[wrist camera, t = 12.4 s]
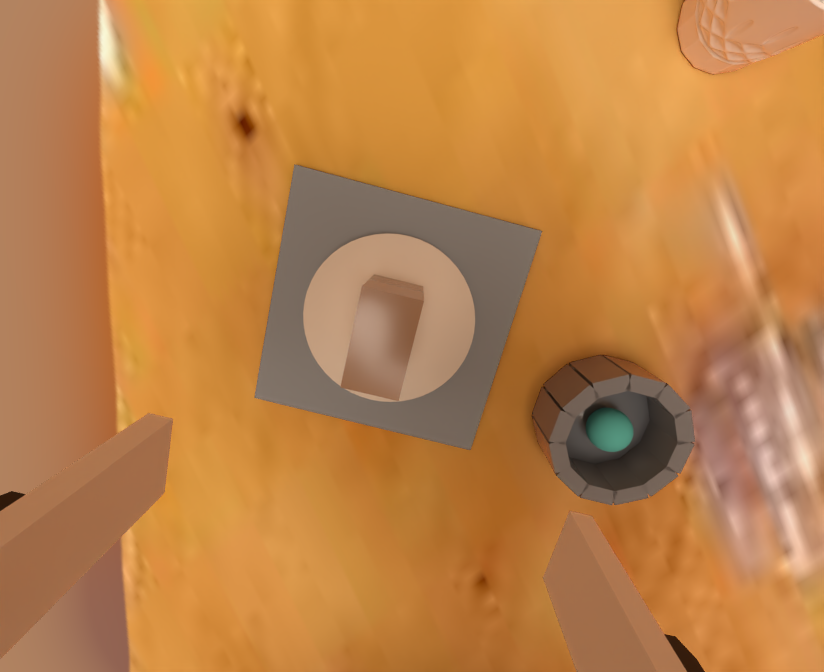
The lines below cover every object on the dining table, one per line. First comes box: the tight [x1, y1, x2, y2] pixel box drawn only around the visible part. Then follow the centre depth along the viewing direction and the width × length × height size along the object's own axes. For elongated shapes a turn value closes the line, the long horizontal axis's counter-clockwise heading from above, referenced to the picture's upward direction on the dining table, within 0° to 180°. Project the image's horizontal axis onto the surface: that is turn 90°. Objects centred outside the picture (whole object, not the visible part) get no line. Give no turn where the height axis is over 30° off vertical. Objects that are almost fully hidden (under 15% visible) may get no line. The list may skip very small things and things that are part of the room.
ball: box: [586, 408, 633, 452], centre depth 34 cm, size 4×4×4 cm
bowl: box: [532, 355, 695, 505], centre depth 35 cm, size 11×11×5 cm
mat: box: [255, 165, 542, 450], centre depth 35 cm, size 20×20×1 cm
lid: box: [303, 233, 475, 402], centre depth 31 cm, size 14×14×8 cm
